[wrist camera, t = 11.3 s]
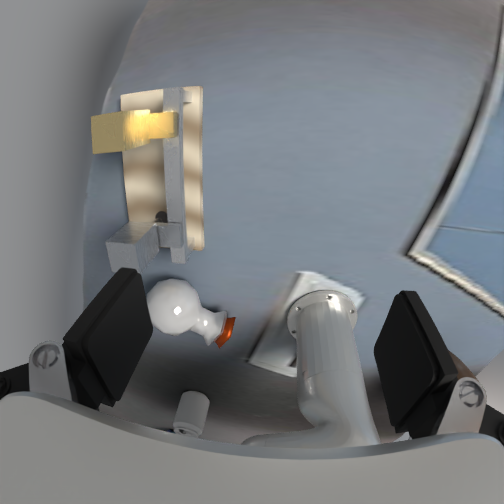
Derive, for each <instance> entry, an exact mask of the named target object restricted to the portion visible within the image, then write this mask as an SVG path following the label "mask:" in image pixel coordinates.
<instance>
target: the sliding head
mask: <svg viewBox="0 0 504 504" xmlns="http://www.w3.org/2000/svg"><path fill="white" fill-rule="evenodd" d="M91 129H92V146H93V154H99V153H109V152H120V151H126V150H129V149H133V148H136V147H139V146H142V145H146V144H149V143H150V139H158V138H175V137H177V112H163V113H152V114H150V110H131V111H120V112H114V113H108V114H102V115H97V116H92V117H91Z"/></svg>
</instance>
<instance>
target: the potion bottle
mask: <svg viewBox="0 0 504 504" xmlns="http://www.w3.org/2000/svg"><path fill="white" fill-rule="evenodd" d="M146 300H147V305H148V309H149V313H150V318H151V322H152V325H153V326H154V327H155V328H157V329H158V330H159V331H160V332H162V333H166V334H169V335H172V336H177V335H180V334H182V333H184V332H187V331H189V330H191V331H194V332H196V333H198V334H200V335H202V336H203V337H204V339H205V341H206V343H207V346H209V345H211V344H212V343H214V342H216V343H217V345H218V347H219V348H220V347H221V346H222V345H223V344H224V343H225V342H226V341H227V340H228V339H229V338H230V337H231V334H232V330H233V326H234V322H235V318H236V317H232V318H227V313H226V311H222V312H216V313H213V312H211V311H209V310H207V309H205V308H203V307H202V306H201V303H200V300H199V296H198V293H197V291H196V290H195V289H194V288H193V287H192V286H191V285H190V284H189V283H188V282H187V281H184V280H180V279H175V278H170V279H166V280H163V281H159V282H157V283H156V284H155V285H154V286H153V288H152V289H151V290H150V291H149V292H148V293H147V298H146Z"/></svg>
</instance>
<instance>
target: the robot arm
mask: <svg viewBox="0 0 504 504" xmlns="http://www.w3.org/2000/svg"><path fill="white" fill-rule="evenodd" d="M356 322H357V311H356V307H355V305H354V303H353V302H352V300H351V299H350V298H348V297H347V296H346V295H344V294H342V293H339V292H336V291H328V290H326V291H317V292H313V293H310V294H307V295H305V296H303V297H302V298H300V299H299V300H298V301H296V302H295V303H294V305H293V306H292V307H291V309H290V310H289V313H288V316H287V326H288V330H289V332H290V334H291V335H292V336H293V337H294V338H295V339H296V341H297V401H298V406H299V408H300V410H301V412H302V414H303V415H304V417H305V418H306V419H307V420H308V421H309V422H310V423H311V424H313V425H314V426H315V427H316V428H313V429H307V430H303V431H295V432H286V433H275V434H264V435H256V436H253V437H250V438H248V439H246V440H245V441H243V443H242V444H241V445H238V444H230V443H223V442H216V441H210V440H204V439H199V438H193V437H188V436H183V435H179V434H174V433H170V432H166V431H162V430H158V429H154V428H150V427H147V426H143V425H140V424H136V423H133V422H130V421H126V420H123V419H120V418H117V417H114V416H111V415H108V414H105V413H102V412H100V411H99V408H98V407H99V405H100V403H102V404H105V405H108V406H111V407H113V406H114V404H115V402H116V401H119V400H120V399H121V397H122V395H123V393H124V391H125V388H126V386H127V384H128V382H129V380H130V378H131V376H132V374H133V372H134V370H135V368H136V366H137V364H138V361H139V359H140V357H141V355H142V353H143V351H144V349H145V347H146V345H147V343H148V342H149V340H150V338H151V336H152V332H153V326H152V322H151V318H150V313H149V309H148V305H147V300H146V296H145V291H144V286H143V282H142V277H141V274H140V273H138V272H137V270H136V269H133V268H125V267H121V268H120V269H119V270H118V271H117V272H116V273H115V274H114V276H113V277H112V278H111V279H110V280H109V281H108V283H107V284H106V285H105V286H104V287H103V288H102V290H101V291H100V292H99V293H98V294H97V296H96V297H95V298H94V299H93V300H92V302H91V303H90V304H89V305H88V307H87V308H86V309H85V310H84V312H83V313H82V314H81V315H80V317H79V318H78V319H77V320H76V322H75V323H74V325H73V326H72V327H71V328H70V330H69V331H68V332H67V333H66V335H65V336H64V337H63V340H64V343H63V344H62V345H61V344H60V343H58V342H56V341H45V342H43V343H40V344H39V345H37V346H36V347H35V348H34V349H33V350H32V352H31V354H30V357H29V363H27V364H24V365H21V366H18V367H15V368H12V369H9V370H6V371H3V372H0V504H504V414H502V413H500V412H499V411H497V410H495V409H494V408H492V407H490V406H489V405H487V404H486V402H487V395H486V391H485V389H484V387H483V386H482V385H481V384H480V382H478V381H477V380H476V379H473V378H471V377H464V378H461V379H460V380H458V378H457V375H458V370H457V368H456V366H455V364H454V362H453V360H452V357H451V355H450V353H449V351H448V349H447V347H446V345H445V343H444V341H443V339H442V337H441V335H440V333H439V331H438V329H437V328H436V326H435V324H434V322H433V320H432V318H431V316H430V315H429V313H428V311H427V309H426V308H425V306H424V304H423V302H422V301H421V299H420V297H419V295H418V294H417V292H416V291H401V292H400V293H399V294H397V295H396V296H395V297H394V300H393V303H392V305H391V308H390V310H389V313H388V315H387V318H386V320H385V323H384V325H383V328H382V330H381V332H380V335H379V337H378V339H377V341H376V344H375V346H374V356H375V360H376V364H377V368H378V371H379V375H380V379H381V383H382V387H383V392H384V396H385V400H386V405H387V409H388V414H389V419H390V423H391V425H392V426H395V431H396V433H402V432H408V431H409V435H410V437H409V439H408V440H406V441H399V442H392V443H384V444H381V441H380V438H379V435H378V432H377V430H376V427H375V424H374V421H373V418H372V415H371V411H370V407H369V403H368V398H367V394H366V389H365V384H364V379H363V374H362V369H361V365H360V360H359V355H358V351H357V347H356V342H355V338H354V334H353V329H354V327H355V325H356Z"/></svg>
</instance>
